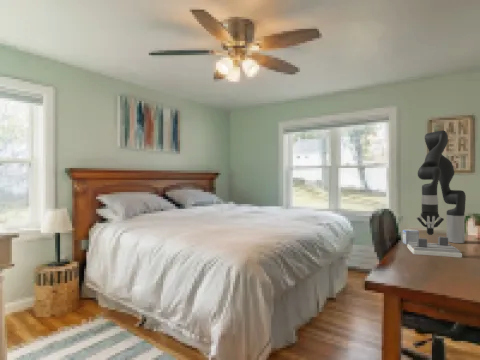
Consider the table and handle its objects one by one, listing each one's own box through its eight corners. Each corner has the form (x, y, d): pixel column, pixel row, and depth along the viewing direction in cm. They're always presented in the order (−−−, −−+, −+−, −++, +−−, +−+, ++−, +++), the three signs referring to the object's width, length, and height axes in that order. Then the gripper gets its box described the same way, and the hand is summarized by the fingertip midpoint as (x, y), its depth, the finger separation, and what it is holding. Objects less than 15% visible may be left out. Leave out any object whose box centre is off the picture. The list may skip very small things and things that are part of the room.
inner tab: (438, 246, 164) (438, 236, 164) (446, 246, 163) (446, 236, 163) (439, 247, 162) (439, 237, 161) (448, 247, 160) (448, 237, 160)
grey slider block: (417, 248, 161) (417, 237, 161) (425, 248, 159) (425, 238, 159) (418, 249, 158) (418, 238, 158) (427, 249, 157) (426, 239, 157)
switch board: (407, 247, 172) (407, 241, 172) (450, 250, 164) (450, 244, 164) (413, 254, 157) (413, 247, 157) (462, 257, 149) (461, 250, 149)
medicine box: (415, 243, 182) (415, 229, 182) (419, 244, 178) (419, 230, 178) (402, 242, 183) (402, 229, 183) (405, 244, 179) (405, 230, 179)
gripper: (441, 202, 158) (442, 233, 159) (414, 202, 163) (414, 232, 163) (446, 204, 151) (446, 236, 152) (417, 203, 156) (418, 235, 156)
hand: (430, 234), depth 157 cm, fingers closed
